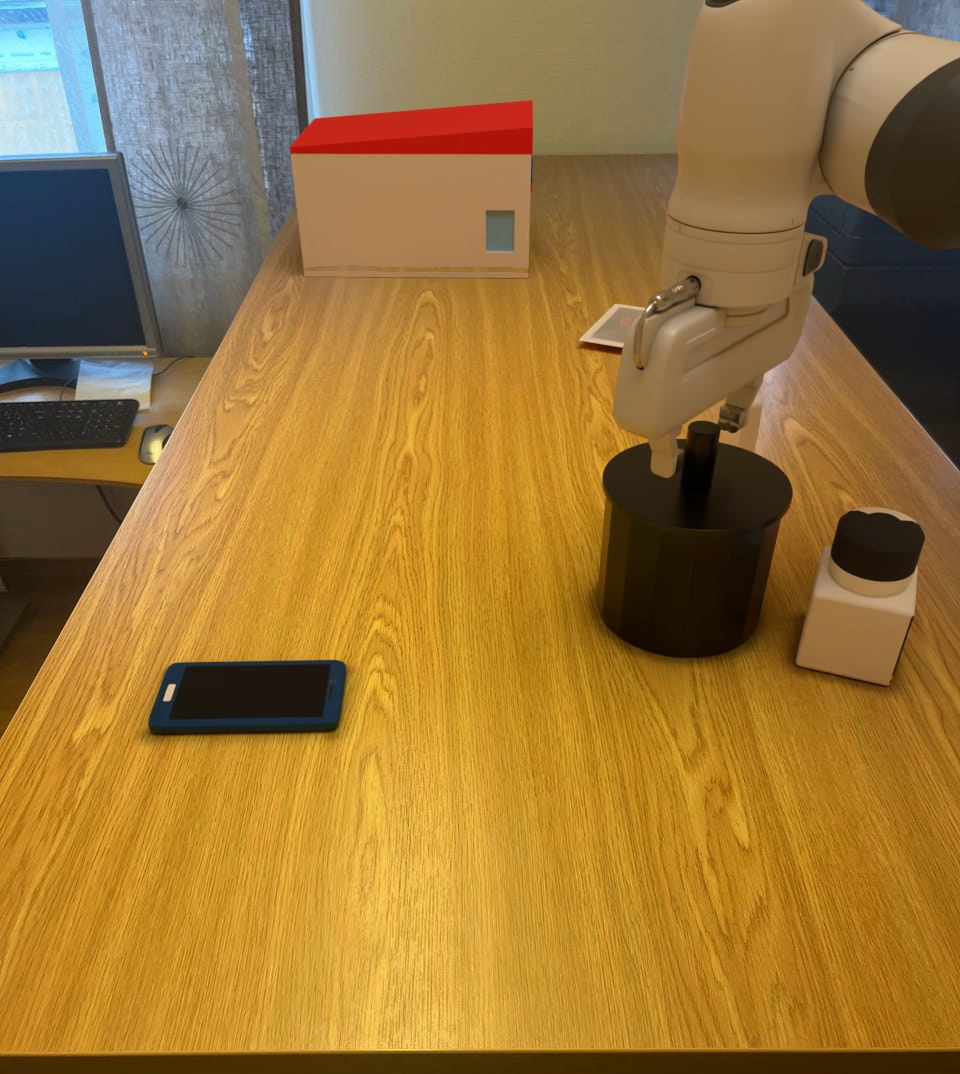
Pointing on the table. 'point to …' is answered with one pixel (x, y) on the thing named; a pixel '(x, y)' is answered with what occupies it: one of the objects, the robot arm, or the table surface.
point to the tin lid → (699, 487)
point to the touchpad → (613, 325)
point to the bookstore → (416, 190)
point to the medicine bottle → (863, 596)
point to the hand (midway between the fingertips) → (699, 449)
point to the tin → (681, 586)
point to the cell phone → (249, 696)
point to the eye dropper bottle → (747, 434)
